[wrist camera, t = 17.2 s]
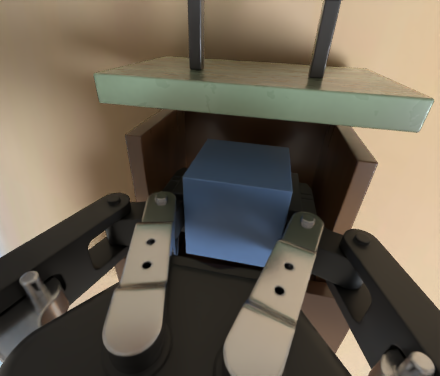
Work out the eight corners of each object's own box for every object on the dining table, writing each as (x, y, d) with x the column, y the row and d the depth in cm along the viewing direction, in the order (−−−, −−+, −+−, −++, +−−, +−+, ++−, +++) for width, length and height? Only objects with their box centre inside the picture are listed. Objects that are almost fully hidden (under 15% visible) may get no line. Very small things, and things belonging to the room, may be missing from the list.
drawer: (159, -31, 14) (58, -81, 8) (398, -29, 13) (526, -91, 6) (177, 224, 25) (140, 295, 18) (311, 246, 23) (324, 334, 16)
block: (207, 138, 14) (181, 176, 10) (289, 147, 13) (293, 191, 10) (206, 203, 16) (185, 253, 13) (276, 213, 16) (274, 269, 12)
